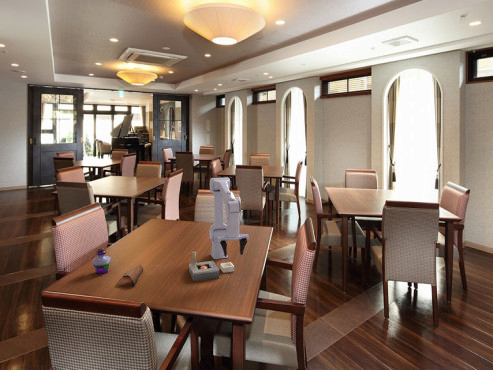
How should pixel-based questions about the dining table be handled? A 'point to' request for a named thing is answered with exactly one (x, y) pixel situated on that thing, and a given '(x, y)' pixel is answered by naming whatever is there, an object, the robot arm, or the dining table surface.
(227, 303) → the dining table surface
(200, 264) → the grey square frame block
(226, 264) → the holder
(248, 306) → the dining table surface
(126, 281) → the sunglasses case
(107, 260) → the potion bottle
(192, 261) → the tan cylinder
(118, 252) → the dining table surface
